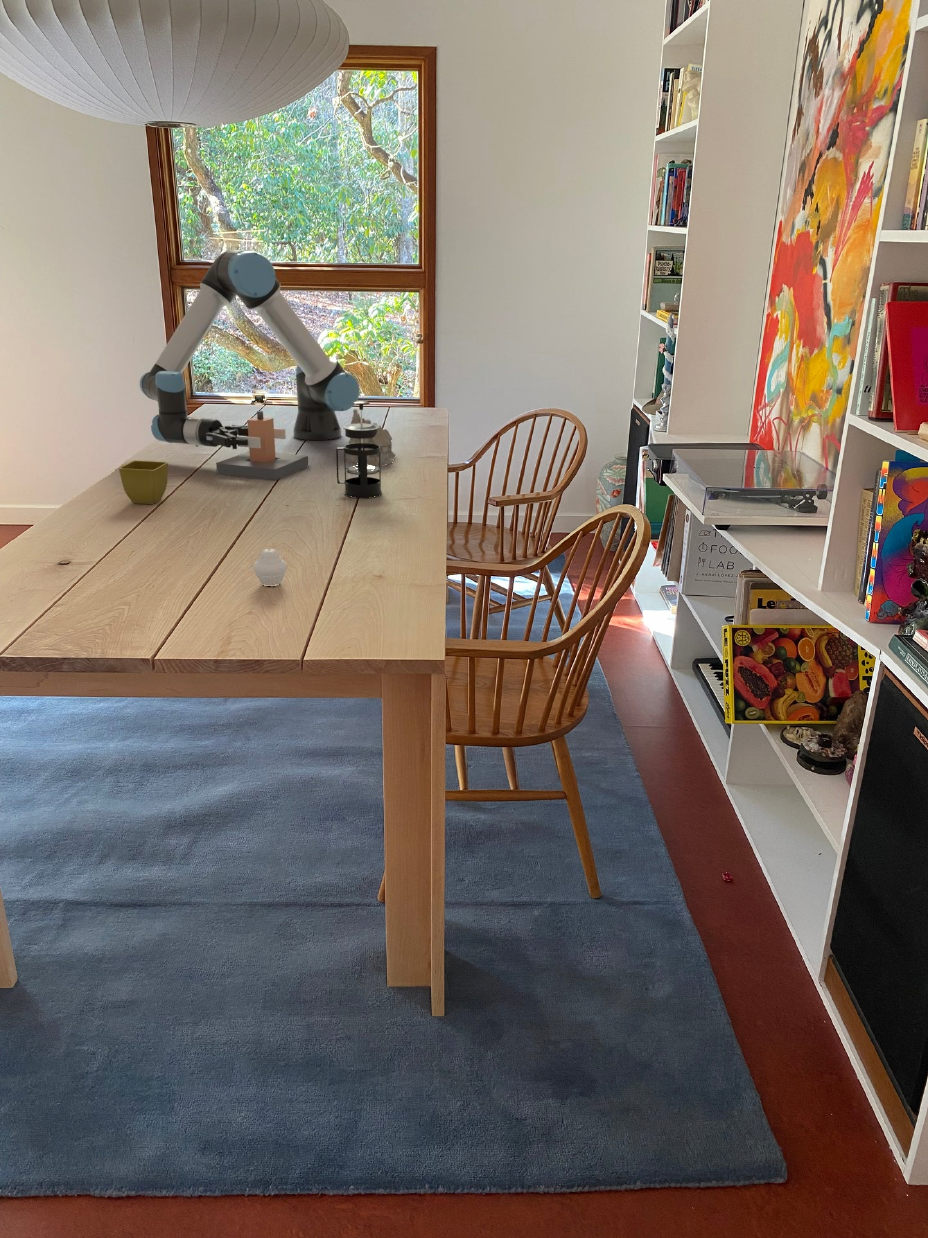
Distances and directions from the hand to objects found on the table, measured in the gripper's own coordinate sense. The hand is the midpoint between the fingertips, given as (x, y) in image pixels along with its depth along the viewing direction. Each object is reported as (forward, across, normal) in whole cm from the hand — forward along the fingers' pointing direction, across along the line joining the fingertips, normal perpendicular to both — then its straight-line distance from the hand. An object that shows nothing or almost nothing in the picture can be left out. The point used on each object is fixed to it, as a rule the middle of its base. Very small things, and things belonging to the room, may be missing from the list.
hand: (272, 438), depth 254 cm
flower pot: (-12, +40, -9) cm, 42 cm away
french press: (+32, +13, -9) cm, 36 cm away
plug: (-3, 0, -9) cm, 10 cm away
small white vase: (+45, +79, -9) cm, 91 cm away
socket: (-3, 0, -9) cm, 10 cm away
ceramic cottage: (+19, -25, -9) cm, 33 cm away
